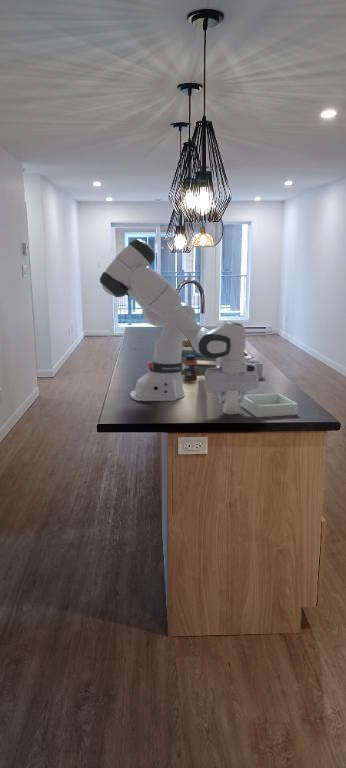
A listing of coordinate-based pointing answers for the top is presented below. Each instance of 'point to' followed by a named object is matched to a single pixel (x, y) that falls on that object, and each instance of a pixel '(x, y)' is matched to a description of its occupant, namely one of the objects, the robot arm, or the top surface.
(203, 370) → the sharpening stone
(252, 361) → the lumpy-topped squat cylinder
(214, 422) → the top surface
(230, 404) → the white cup
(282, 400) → the sage tray
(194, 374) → the supplement bottle
